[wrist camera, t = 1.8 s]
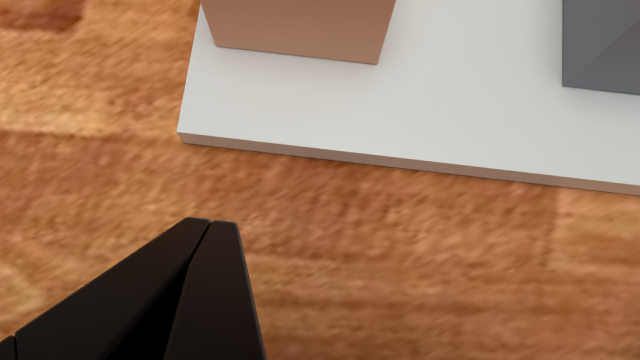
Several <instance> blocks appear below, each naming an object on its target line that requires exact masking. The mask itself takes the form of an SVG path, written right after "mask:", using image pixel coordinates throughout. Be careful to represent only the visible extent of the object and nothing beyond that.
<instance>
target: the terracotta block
mask: <svg viewBox="0 0 640 360" xmlns="http://www.w3.org/2000/svg"><path fill="white" fill-rule="evenodd" d="M395 2H396V0H200V3H201V6H202V8H203V11H204V14H205V17H206V20H207V23H208V26H209V29H210V31H211V34H212V37H213V40H214V43H215V46H220V47H228V48H237V49H246V50H255V51H263V52H272V53H281V54H289V55H298V56H307V57H315V58H324V59H333V60H342V61H350V62H359V63H368V64H376V65H377V64H378V61H379V57H380V54H381V51H382V47H383V44H384V40H385V37H386V33H387V30H388V26H389V23H390V20H391V16H392V13H393V9H394V6H395Z"/></svg>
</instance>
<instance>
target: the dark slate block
mask: <svg viewBox="0 0 640 360" xmlns="http://www.w3.org/2000/svg"><path fill="white" fill-rule="evenodd" d="M563 86H567V87H576V88H585V89H593V90H602V91H611V92H619V93H628V94H637V95H640V0H563Z"/></svg>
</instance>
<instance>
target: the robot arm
mask: <svg viewBox="0 0 640 360" xmlns="http://www.w3.org/2000/svg"><path fill="white" fill-rule="evenodd" d="M0 360H267V358H266V353H265V349H264V344H263V339H262V335H261V330H260V325H259V321H258V316H257V311H256V307H255V302H254V298H253V293H252V288H251V284H250V279H249V274H248V270H247V265H246V260H245V256H244V251H243V247H242V242H241V237H240V233H239V228H238V225H237V223H235V222H230V221H221V220H214V221H213V222H211V220H209V219H204V218H196V217H186V218H184V219H183V220H181V221H180V222H178V223H177V224H175V225H174V226H172V227H171V228H169V229H168V230H166V231H165V232H163V233H162V234H160V235H159V236H157V237H156V238H154V239H153V240H152V241H150V242H149V243H147V244H146V245H144V246H143V247H141V248H140V249H138V250H137V251H135V252H134V253H132V254H131V255H129V256H128V257H126V258H125V259H123V260H122V261H120V262H119V263H117V264H116V265H114V266H113V267H111V268H110V269H108V270H107V271H105V272H104V273H102V274H101V275H99V276H98V277H96V278H95V279H94V280H92V281H91V282H89V283H88V284H86V285H85V286H83V287H82V288H80V289H79V290H77V291H76V292H74V293H73V294H71V295H70V296H68V297H67V298H65V299H64V300H62V301H61V302H59V303H58V304H56V305H55V306H53V307H52V308H50V309H49V310H47V311H46V312H44V313H43V314H41V315H40V316H39V317H37V318H36V319H34V320H33V321H31V322H30V323H28V324H27V325H25V326H24V327H22V328H21V329H19V330H18V331H16V333H15V337H14V336H13V335H10V336H8V337H7V338H5V339H4V340H2V341H1V342H0Z"/></svg>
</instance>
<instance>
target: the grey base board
mask: <svg viewBox="0 0 640 360" xmlns="http://www.w3.org/2000/svg"><path fill="white" fill-rule="evenodd" d="M177 133H178V135H179V136H180V137H181V139H182V140H183V141H184V143H189V144H198V145H206V146H215V147H224V148H232V149H241V150H250V151H258V152H267V153H276V154H284V155H293V156H302V157H310V158H319V159H328V160H336V161H345V162H353V163H362V164H371V165H379V166H388V167H397V168H405V169H414V170H423V171H431V172H440V173H449V174H457V175H466V176H475V177H483V178H492V179H501V180H509V181H518V182H527V183H535V184H544V185H553V186H561V187H570V188H579V189H587V190H596V191H604V192H613V193H622V194H630V195H639V196H640V95H637V94H628V93H619V92H611V91H602V90H593V89H585V88H576V87H567V86H563V0H396V2H395V6H394V9H393V13H392V16H391V20H390V23H389V26H388V30H387V33H386V37H385V40H384V44H383V47H382V51H381V54H380V57H379V61H378V64H377V65H376V64H368V63H359V62H350V61H342V60H333V59H324V58H315V57H307V56H298V55H289V54H281V53H272V52H263V51H255V50H246V49H237V48H228V47H220V46H215V43H214V40H213V37H212V34H211V31H210V29H209V26H208V23H207V20H206V17H205V14H204V11H203V8H202V6H201V5H200V10H199V15H198V21H197V26H196V31H195V37H194V42H193V47H192V52H191V58H190V63H189V68H188V74H187V79H186V84H185V90H184V95H183V100H182V106H181V111H180V116H179V122H178V127H177Z"/></svg>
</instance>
